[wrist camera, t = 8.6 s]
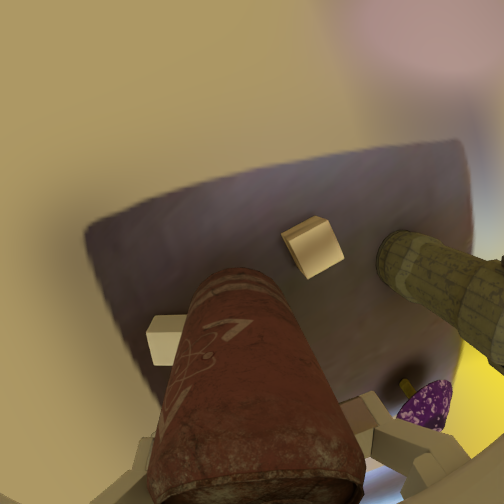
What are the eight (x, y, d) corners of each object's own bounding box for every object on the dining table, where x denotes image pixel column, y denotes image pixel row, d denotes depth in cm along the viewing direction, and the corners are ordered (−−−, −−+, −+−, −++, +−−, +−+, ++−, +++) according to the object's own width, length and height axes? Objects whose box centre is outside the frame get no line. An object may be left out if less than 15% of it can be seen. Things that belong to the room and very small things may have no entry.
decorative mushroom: (422, 341, 42) (472, 386, 27) (429, 380, 45) (468, 422, 30) (366, 380, 42) (405, 437, 28) (380, 414, 45) (412, 464, 31)
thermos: (382, 304, 39) (550, 460, 5) (367, 232, 36) (616, 354, 2) (425, 281, 39) (595, 392, 5) (414, 212, 36) (636, 280, 2)
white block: (194, 345, 38) (191, 365, 33) (161, 345, 38) (154, 365, 33) (189, 314, 37) (185, 331, 32) (154, 315, 36) (145, 332, 32)
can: (197, 354, 19) (176, 547, 5) (186, 267, 17) (101, 466, 4) (283, 349, 19) (347, 532, 5) (284, 262, 18) (410, 440, 4)
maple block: (330, 249, 36) (344, 258, 32) (297, 267, 37) (307, 279, 32) (314, 215, 35) (327, 220, 30) (280, 233, 35) (288, 241, 31)
